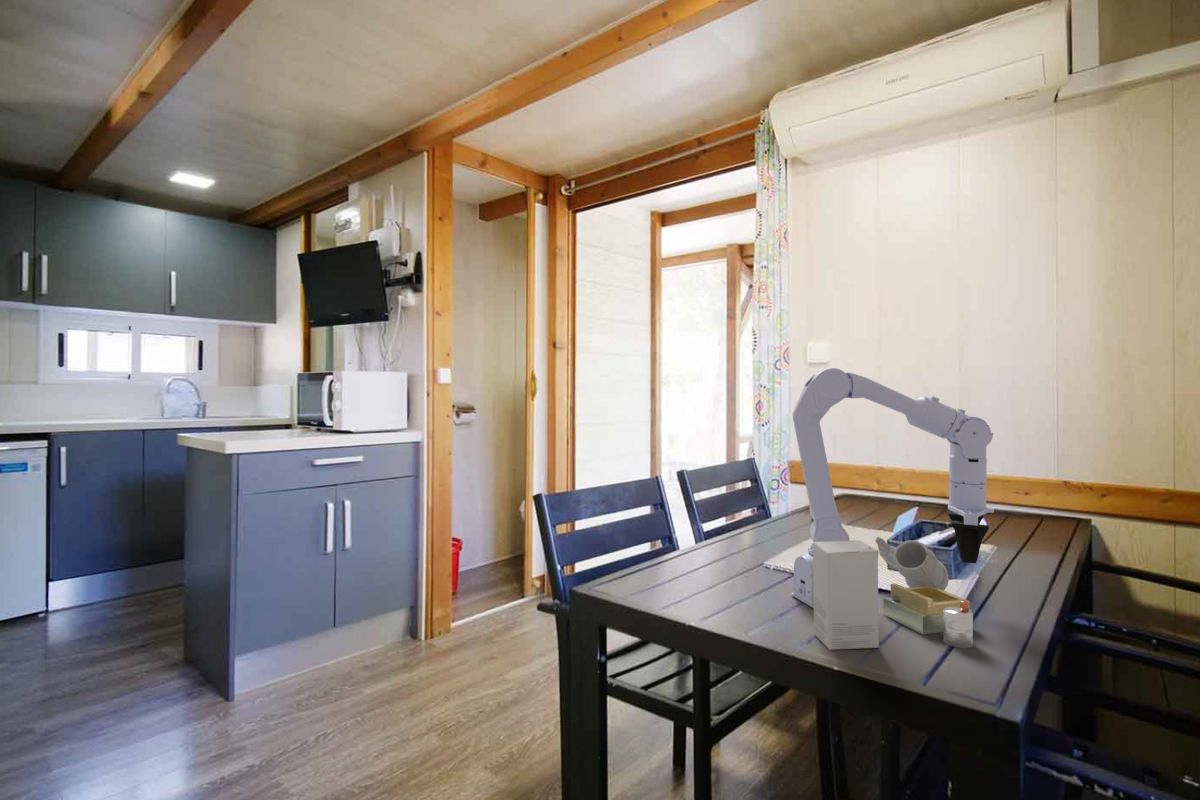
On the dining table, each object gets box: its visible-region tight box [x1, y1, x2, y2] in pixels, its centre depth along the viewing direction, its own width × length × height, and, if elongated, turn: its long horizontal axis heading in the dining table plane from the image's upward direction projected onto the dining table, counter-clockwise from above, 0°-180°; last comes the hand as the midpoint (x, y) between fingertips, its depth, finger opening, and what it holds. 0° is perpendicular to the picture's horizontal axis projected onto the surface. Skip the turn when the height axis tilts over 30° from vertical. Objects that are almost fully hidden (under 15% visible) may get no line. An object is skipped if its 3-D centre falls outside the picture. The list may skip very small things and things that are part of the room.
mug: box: [875, 536, 949, 591], centre depth 116 cm, size 8×12×12 cm
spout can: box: [942, 600, 974, 649], centre depth 95 cm, size 4×4×6 cm
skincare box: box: [812, 539, 880, 651], centre depth 95 cm, size 8×7×16 cm
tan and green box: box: [883, 582, 973, 635], centre depth 104 cm, size 10×9×6 cm
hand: (967, 556), depth 109 cm, fingers open, 7 cm apart
